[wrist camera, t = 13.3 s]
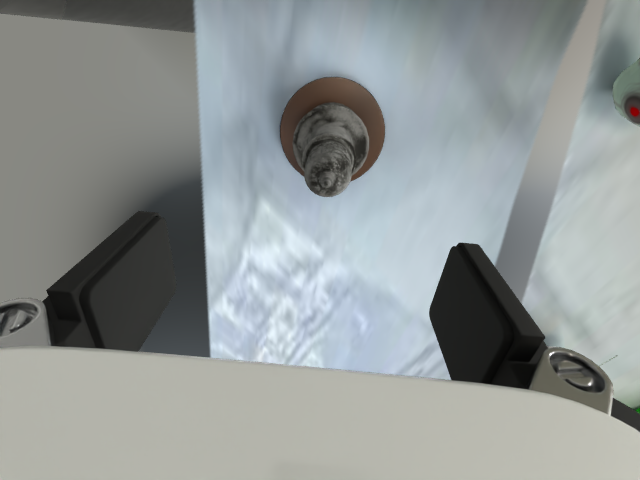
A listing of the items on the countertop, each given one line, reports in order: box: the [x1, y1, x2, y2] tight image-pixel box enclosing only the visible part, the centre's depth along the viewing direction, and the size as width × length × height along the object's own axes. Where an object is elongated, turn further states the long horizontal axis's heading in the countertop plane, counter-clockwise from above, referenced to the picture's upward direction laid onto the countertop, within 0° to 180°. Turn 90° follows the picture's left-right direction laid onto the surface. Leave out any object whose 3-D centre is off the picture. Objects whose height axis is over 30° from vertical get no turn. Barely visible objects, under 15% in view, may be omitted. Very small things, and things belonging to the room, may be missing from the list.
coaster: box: [280, 77, 385, 181], centre depth 29 cm, size 9×9×1 cm
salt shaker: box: [292, 102, 369, 197], centre depth 23 cm, size 6×6×12 cm
